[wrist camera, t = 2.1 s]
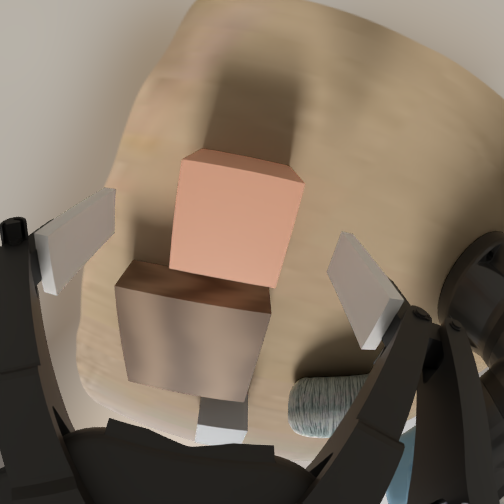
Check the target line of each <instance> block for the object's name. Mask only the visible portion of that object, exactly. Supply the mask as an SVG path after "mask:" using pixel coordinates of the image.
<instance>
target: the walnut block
mask: <svg viewBox="0 0 504 504" xmlns="http://www.w3.org/2000/svg"><path fill="white" fill-rule="evenodd" d="M115 297H116V306H117V315H118V323H119V330H120V337H121V343H122V349H123V355H124V360H125V366H126V371H127V376H128V381H131V382H134V383H138V384H142V385H146V386H151V387H155V388H159V389H164V390H168V391H173V392H178V393H183V394H189V395H194V396H200V397H207V398H213V399H220V400H228V401H236V402H244V401H245V398H246V395H247V391H248V388H249V385H250V382H251V379H252V376H253V373H254V370H255V366H256V363H257V360H258V357H259V354H260V350H261V347H262V344H263V341H264V337H265V334H266V331H267V327H268V324H269V321H270V317H271V305H270V294H269V287H265V286H259V285H254V284H248V283H243V282H237V281H232V280H226V279H221V278H216V277H210V276H205V275H200V274H195V273H190V272H185V271H180V270H175V269H170V268H169V266H164V265H159V264H153V263H148V262H143V261H138V260H133V261H132V262H131V264H130V265H129V267H128V268H127V269H126V271H125V272H124V273H123V275H122V276H121V277H120V279H119V280H118V282H117V283H116V284H115Z"/></svg>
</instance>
